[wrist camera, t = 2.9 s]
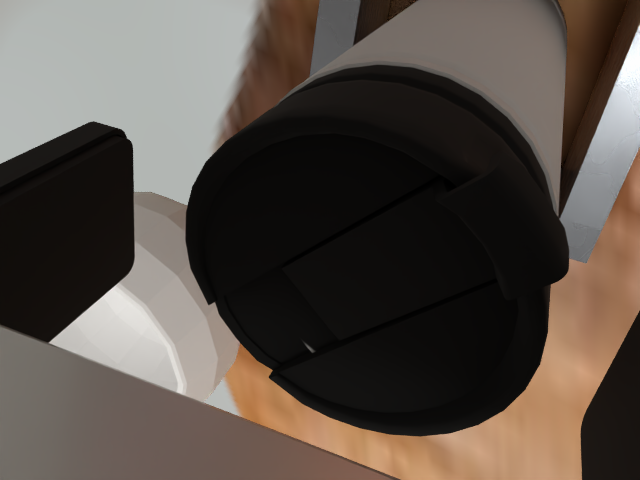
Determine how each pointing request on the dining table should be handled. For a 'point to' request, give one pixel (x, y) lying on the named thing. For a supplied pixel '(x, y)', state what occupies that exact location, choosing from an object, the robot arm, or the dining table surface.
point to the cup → (157, 312)
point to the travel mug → (398, 219)
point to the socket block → (592, 135)
